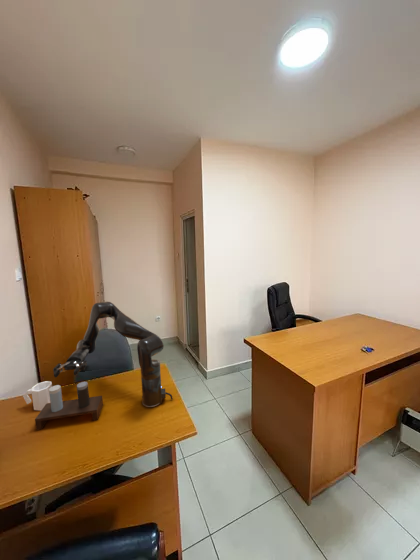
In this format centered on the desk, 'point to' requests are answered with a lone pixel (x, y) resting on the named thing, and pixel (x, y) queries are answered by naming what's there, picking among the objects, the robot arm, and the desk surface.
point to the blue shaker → (56, 398)
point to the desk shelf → (69, 410)
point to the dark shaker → (83, 394)
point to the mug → (39, 395)
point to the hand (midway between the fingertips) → (65, 374)
